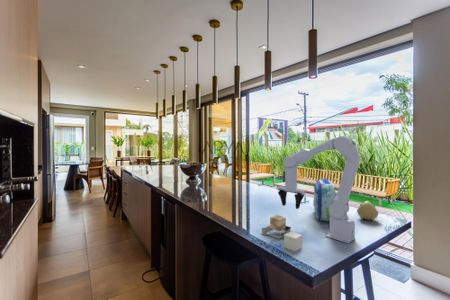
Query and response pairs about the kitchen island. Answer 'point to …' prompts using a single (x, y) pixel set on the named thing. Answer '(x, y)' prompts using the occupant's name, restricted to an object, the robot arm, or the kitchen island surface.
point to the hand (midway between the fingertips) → (290, 206)
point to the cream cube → (293, 241)
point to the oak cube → (278, 222)
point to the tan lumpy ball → (367, 211)
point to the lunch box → (323, 198)
